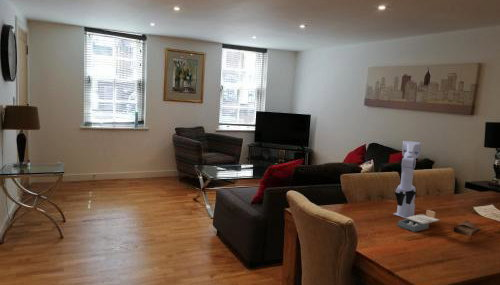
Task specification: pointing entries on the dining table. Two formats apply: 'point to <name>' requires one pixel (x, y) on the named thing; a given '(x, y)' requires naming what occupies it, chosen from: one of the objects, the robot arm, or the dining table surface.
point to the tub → (412, 225)
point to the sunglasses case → (466, 228)
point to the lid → (424, 217)
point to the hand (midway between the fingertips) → (403, 204)
